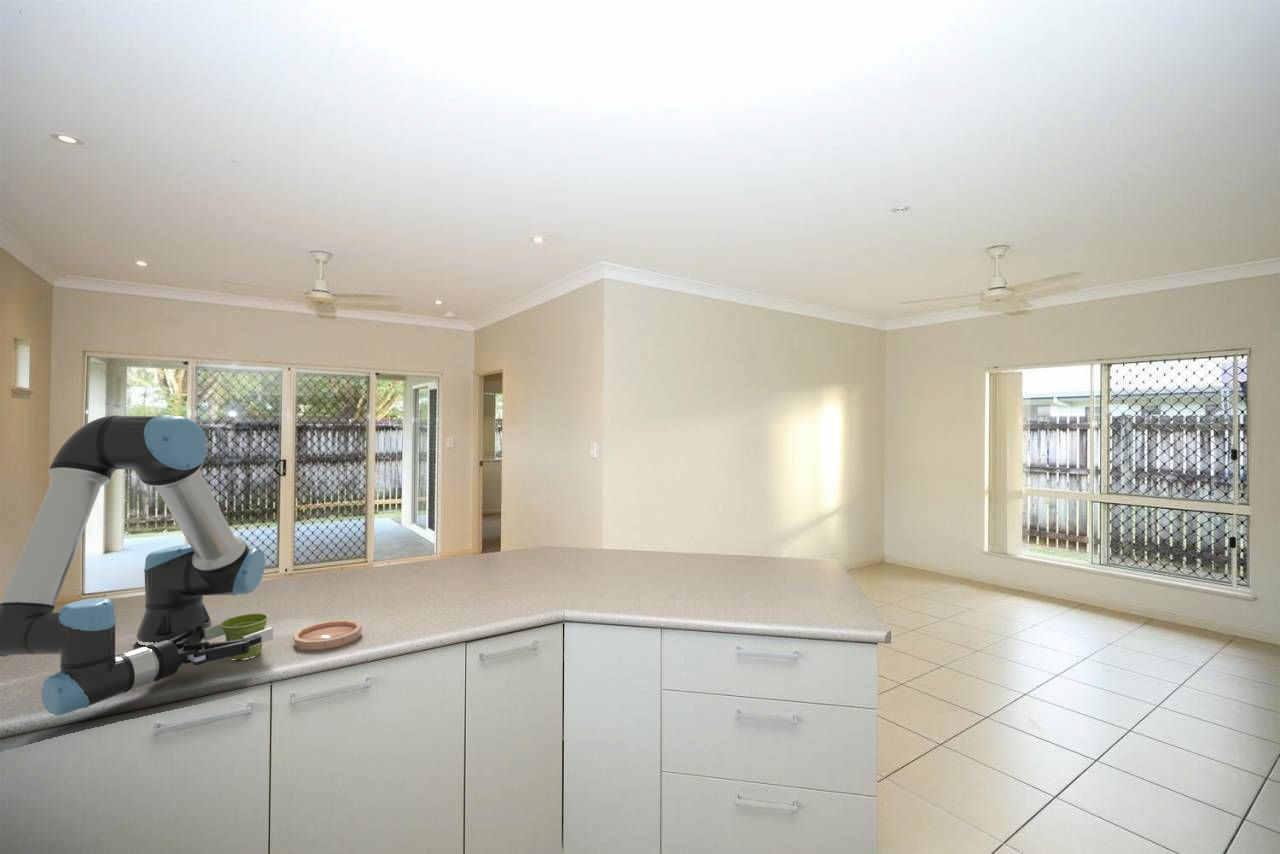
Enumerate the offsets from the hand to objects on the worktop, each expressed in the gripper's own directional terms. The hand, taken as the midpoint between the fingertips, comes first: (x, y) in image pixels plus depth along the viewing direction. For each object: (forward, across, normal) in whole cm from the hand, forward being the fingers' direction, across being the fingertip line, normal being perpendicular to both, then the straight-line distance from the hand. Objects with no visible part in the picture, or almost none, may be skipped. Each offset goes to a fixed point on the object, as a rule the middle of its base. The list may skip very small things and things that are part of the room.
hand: (252, 629), depth 137 cm
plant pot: (-2, 0, -6) cm, 6 cm away
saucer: (+13, +9, -6) cm, 17 cm away
